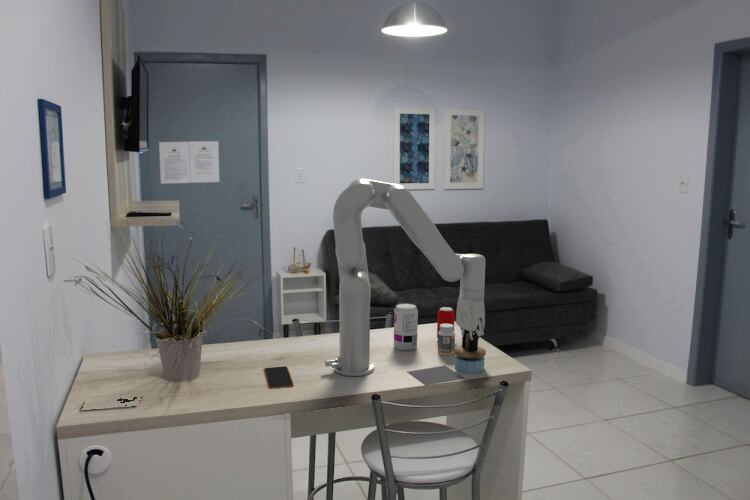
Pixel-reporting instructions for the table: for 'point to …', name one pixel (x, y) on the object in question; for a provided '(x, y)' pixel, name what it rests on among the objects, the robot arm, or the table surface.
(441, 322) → the beverage can
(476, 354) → the lid
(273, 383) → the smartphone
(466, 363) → the bowl
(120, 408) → the table surface
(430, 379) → the mat
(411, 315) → the supplement can
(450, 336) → the pill bottle
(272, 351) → the table surface
